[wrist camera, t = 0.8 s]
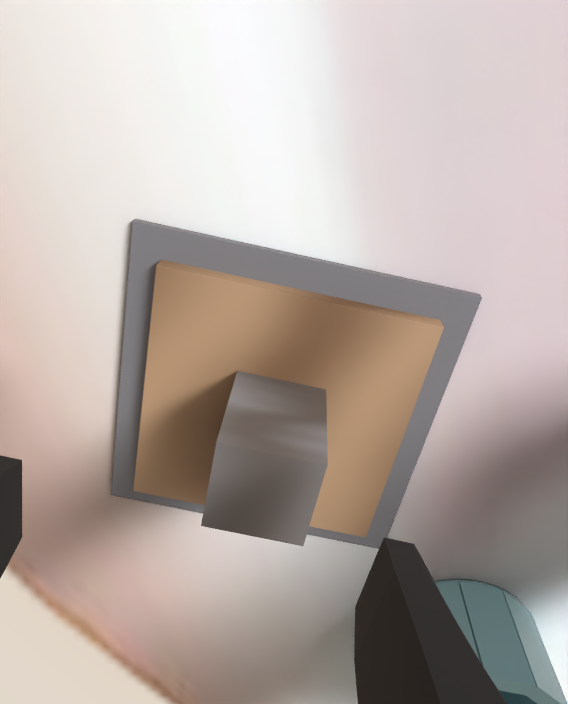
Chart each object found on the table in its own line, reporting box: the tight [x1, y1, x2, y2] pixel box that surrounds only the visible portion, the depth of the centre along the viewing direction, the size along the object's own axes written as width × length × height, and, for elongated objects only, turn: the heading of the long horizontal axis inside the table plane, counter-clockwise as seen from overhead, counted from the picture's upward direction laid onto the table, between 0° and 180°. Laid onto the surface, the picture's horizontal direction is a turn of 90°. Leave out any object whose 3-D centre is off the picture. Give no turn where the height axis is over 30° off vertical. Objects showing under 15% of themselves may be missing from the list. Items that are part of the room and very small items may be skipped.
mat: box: [111, 219, 482, 549], centre depth 19 cm, size 11×11×1 cm
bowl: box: [435, 580, 567, 704], centre depth 22 cm, size 7×7×4 cm
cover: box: [133, 260, 444, 546], centre depth 17 cm, size 9×9×5 cm
